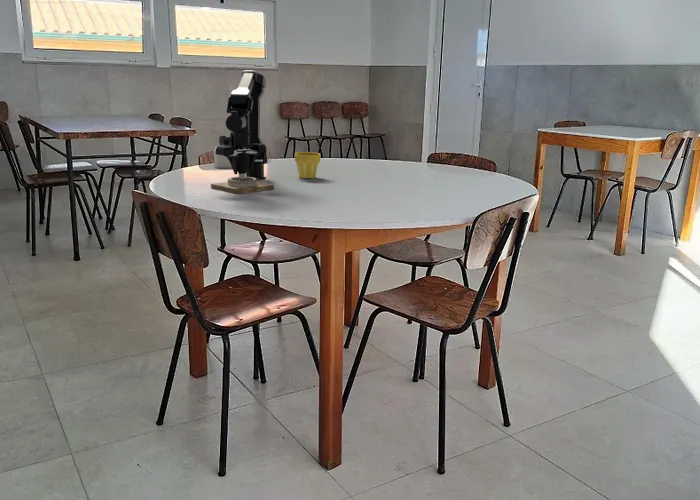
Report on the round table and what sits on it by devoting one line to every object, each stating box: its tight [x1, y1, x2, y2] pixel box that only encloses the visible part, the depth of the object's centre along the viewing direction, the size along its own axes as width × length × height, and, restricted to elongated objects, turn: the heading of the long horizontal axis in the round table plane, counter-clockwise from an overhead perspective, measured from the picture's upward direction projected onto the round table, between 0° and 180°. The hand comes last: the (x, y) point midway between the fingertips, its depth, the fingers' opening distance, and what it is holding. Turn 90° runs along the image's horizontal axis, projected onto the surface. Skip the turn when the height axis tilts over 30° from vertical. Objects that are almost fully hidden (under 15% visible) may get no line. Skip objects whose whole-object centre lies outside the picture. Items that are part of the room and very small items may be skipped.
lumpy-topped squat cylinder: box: [213, 146, 239, 169], centre depth 282 cm, size 10×13×9 cm
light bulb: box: [237, 152, 250, 181], centre depth 225 cm, size 6×6×10 cm
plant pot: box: [294, 151, 321, 179], centre depth 254 cm, size 10×10×10 cm
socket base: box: [210, 176, 275, 195], centre depth 226 cm, size 16×16×4 cm
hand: (242, 173), depth 225 cm, fingers closed on light bulb, 5 cm apart
